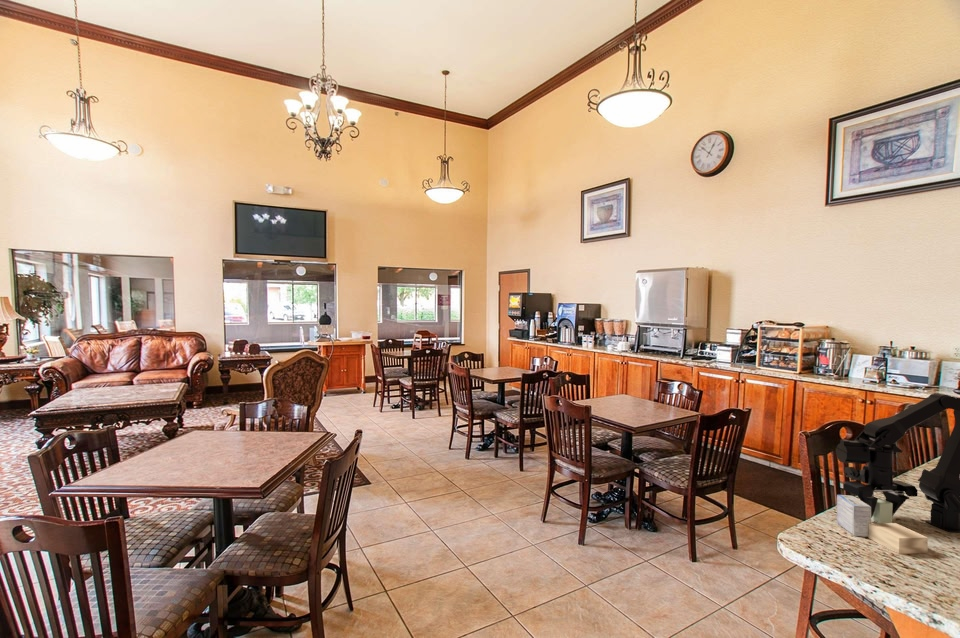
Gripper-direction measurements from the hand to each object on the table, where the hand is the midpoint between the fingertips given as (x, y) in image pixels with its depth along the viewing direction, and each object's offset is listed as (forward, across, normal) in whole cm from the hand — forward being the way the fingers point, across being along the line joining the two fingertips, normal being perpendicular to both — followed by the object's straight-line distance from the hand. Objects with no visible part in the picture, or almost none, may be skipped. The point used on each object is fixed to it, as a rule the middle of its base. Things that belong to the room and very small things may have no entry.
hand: (879, 517), depth 130 cm
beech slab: (+1, +10, +14) cm, 17 cm away
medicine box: (+1, +14, +6) cm, 15 cm away
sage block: (+1, 0, 0) cm, 1 cm away
